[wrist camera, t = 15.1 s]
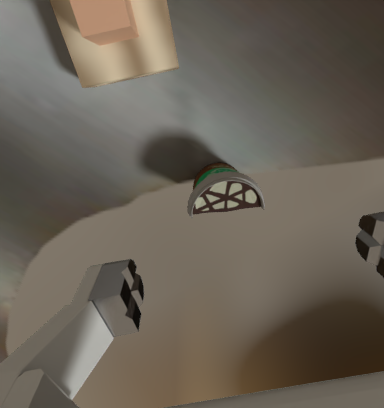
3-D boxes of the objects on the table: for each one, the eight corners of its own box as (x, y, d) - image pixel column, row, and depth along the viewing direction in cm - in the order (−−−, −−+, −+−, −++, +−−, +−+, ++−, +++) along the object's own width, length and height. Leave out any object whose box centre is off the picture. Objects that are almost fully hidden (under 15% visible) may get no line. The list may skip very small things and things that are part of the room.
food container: (250, 152, 41) (270, 171, 32) (249, 184, 44) (267, 209, 35) (182, 160, 41) (183, 181, 32) (185, 191, 43) (188, 218, 35)
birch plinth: (94, 87, 34) (82, 87, 30) (53, -29, 28) (31, -50, 24) (178, 69, 34) (178, 66, 29) (155, -53, 28) (151, -79, 23)
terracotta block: (99, 45, 28) (82, 37, 23) (83, -8, 25) (58, -31, 20) (139, 37, 28) (130, 26, 22) (126, -18, 25) (113, -44, 20)
